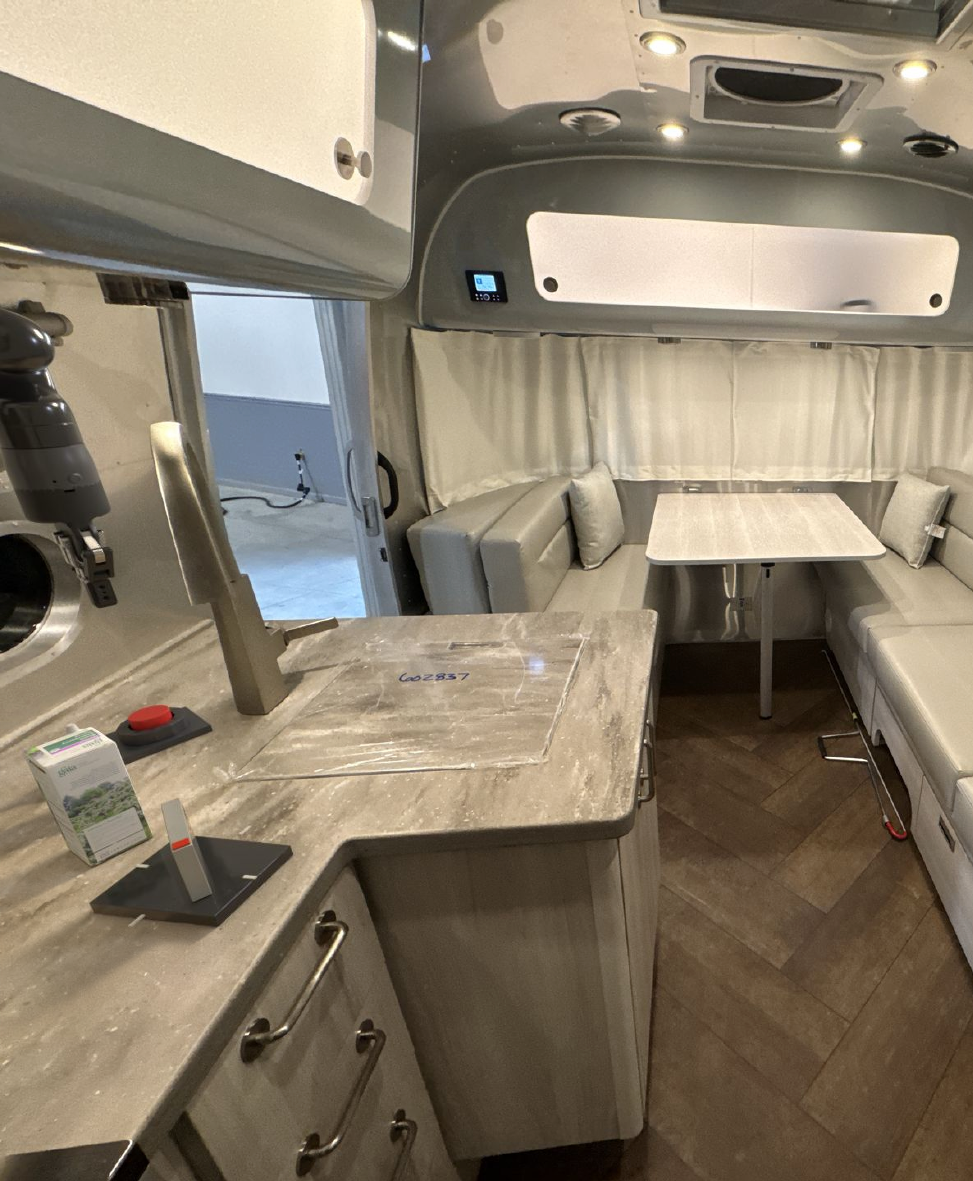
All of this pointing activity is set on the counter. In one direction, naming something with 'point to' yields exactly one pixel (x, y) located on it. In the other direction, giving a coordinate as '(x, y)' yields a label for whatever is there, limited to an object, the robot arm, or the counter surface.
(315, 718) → the counter surface
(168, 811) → the gray battery pack
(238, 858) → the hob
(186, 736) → the black button base
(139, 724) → the power button
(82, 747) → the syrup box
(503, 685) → the counter surface
